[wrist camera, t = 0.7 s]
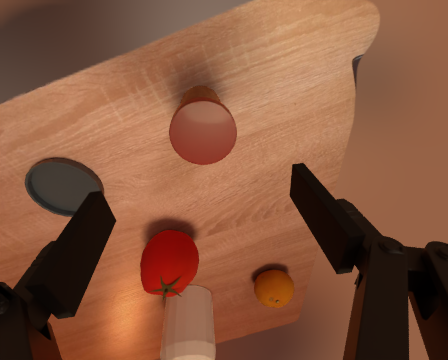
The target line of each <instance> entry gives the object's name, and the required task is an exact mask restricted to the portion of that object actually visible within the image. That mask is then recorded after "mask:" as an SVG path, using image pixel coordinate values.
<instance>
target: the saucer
mask: <svg viewBox="0 0 448 360" xmlns="http://www.w3.org/2000/svg"><path fill="white" fill-rule="evenodd" d="M25 186H26V190H27V192H28V194H29V195H30V197H31V198H32V199H33V201H35V202H36V203H37V204H38V205H40V206H41V207H42V208H44V209H46V210H48V211H50V212H52V213H55V214H58V215H62V216H69V217H73V215H74V214H75V212H76V211H77V210H78V208H79V207H80V205H81V204H82V202H83V201H84V200H85V198H86V197H87V195H88V194H89V192H94V191H102V193H103V195H104V188H103V185H102V183H101V181H100V179H99V178H98V176H97V175H96V174H95V173H94V172H93V171H91V170H90V169H89V168H87V167H86V166H84V165H82V164H80V163H78V162H75V161H72V160H68V159H62V158H52V159H47V160H44V161H41V162H40V163H38V164H36V165H35V166H33V167H32V168H31V169H30V170H29V172H28V173H27V174H26V178H25Z"/></svg>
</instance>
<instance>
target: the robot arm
mask: <svg viewBox="0 0 448 360" xmlns="http://www.w3.org/2000/svg"><path fill="white" fill-rule="evenodd" d="M290 197H291V199H292V201H293V202H294V204H295V206H296V207H297V209H298V211H299V212H300V214H301V216H302V217H303V219H304V221H305V222H306V224H307V226H308V227H309V229H310V231H311V232H312V234H313V235H314V237H315V239H316V240H317V242H318V244H319V245H320V247H321V249H322V250H323V252H324V254H325V255H326V257H327V259H328V260H329V262H330V263H331V265H332V267H333V269H334V270H335V272H336V274H343V273H350V272H352V270H353V267H354V265H355V266H356V267H357V269H358V270H359V274H358V277H357V279H356V281H355V284H356V289H355V295H354V301H353V306H352V311H351V317H350V323H349V329H348V334H347V340H346V345H345V351H344V356H343V360H409V329H408V328H409V325H408V296H409V299H410V302H411V305H412V308H413V311H414V314H415V317H416V320H417V323H418V326H419V330H420V333H421V336H422V339H423V342H424V345H425V348H426V351H427V354H428V357H429V360H448V244H446V243H443V242H437V241H433V242H429V243H428V244H427V245H426V247H425V248H415V247H406V246H403V245H402V244H401V243H400V242H398V241H397V240H395V239H393V238H390V237H386V236H383V235H381V233H379V231H378V230H377V229H376V228H375V227H374V226H373V225H372V224H371V223H370V222H369V221H368V220H367V219H366V218H365V217H363V215H362V214H361V213H360V212H359V211H358V209H356V207H355V206H354V205H353V204H352V203H350V202H348V201H347V200H345V199H337V200H335V198H334V197H333V196H332V195H331V194H330V193H329V192H328V190H327V189H326V188H325V187H324V186H323V185H322V184H321V183H320V181H319V180H318V179H317V178H316V177H315V176H314V175H313V173H312V172H311V171H310V170H309V169H308V168H307V167H306V165H305V164H304V163H300V164H293V165H292V176H291V187H290ZM115 222H116V219H115V217H114V215H113V213H112V211H111V209H110V207H109V205H108V203H107V201H106V199H105V197H104V195H103V193H102V191H94V192H89V194H88V195H87V197H86V198H85V200H84V201H83V202H82V204H81V205H80V207H79V208H78V210H77V211H76V212H75V214H74V215H73V217H72V218H71V220H70V221H69V223H68V224H67V225H66V227H65V228H64V230H63V231H62V233H61V234H60V236H59V237H58V238H57V240H56V241H51V242H50V243H49V244H48V245H47V246H45V247H44V248H43V249H42V250H41V252H40V253H39V254H38V256H37V257H36V260H34V261H33V262H32V264H31V267H29V268H28V269H27V271H26V272H25V273H24V275H23V276H22V277H21V279H20V280H19V282H18V283H17V284H16V286H15V287H14V288H13V290H12V289H11V288H10V287H9V286H8V285H7V284H6V283H4V282H0V360H62V358H61V355H60V352H59V348H58V345H57V342H56V339H55V336H54V333H53V330H52V327H51V324H50V323H49V322H48V319H49V317H50V315H51V313H52V314H53V315H54V316H55V317H56V318H57V319H62V318H68V317H74V316H75V314H76V312H77V309H78V307H79V305H80V303H81V300H82V298H83V296H84V293H85V291H86V289H87V286H88V284H89V282H90V280H91V277H92V275H93V273H94V270H95V268H96V266H97V264H98V261H99V259H100V257H101V254H102V252H103V250H104V248H105V245H106V243H107V241H108V238H109V236H110V234H111V232H112V229H113V227H114V225H115Z"/></svg>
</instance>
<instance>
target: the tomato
mask: <svg viewBox="0 0 448 360" xmlns="http://www.w3.org/2000/svg"><path fill="white" fill-rule="evenodd" d="M198 264H199V255H198V250H197V247H196V245H195V243H194V242H193V240H192V239H191V237H190V236H188V235H187V234H186V233H184V232H179V231H175V230H166V231H162V232H160V233H158V234H156V235H155V236H154V237H153V238H152V239H151V240H150V242H149V243H148V244H147V246H146V247H145V249H144V251H143V254H142V258H141V263H140V267H141V281H142V285H143V288H144V290H145V291H146V292H147V293H150V294H156V295H162V296H163V300H164V298H165V297H173V296H175V295H179V293H182V292H183V291H184V289H185V288H186V287H187V285H188V284H189V283H190V282H191V281H192V280H193V278H194V277H195V275H196V273H197V269H198ZM179 296H180V297H182V296H181V295H179Z"/></svg>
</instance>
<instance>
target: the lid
mask: <svg viewBox="0 0 448 360" xmlns="http://www.w3.org/2000/svg"><path fill="white" fill-rule="evenodd" d="M169 136H170V141H171V144H172V146H173V148H174V150H175V151H176V152H177V153H178V154H179V155H180V156H181V157H182V158H183V159H185V160H187V161H189V162H191V163H194V164H199V165H207V164H212V163H216V162H218V161H220V160H222V159H223V158H225V157H226V156H227V155H228V154H229V153H230V151H231V150H232V148H233V147H234V144H235V141H236V137H237V129H236V124H235V122H234V119H233V117H232V115H231V113H230V111H229V110H228V109H227V108H226V107H225V106H224V105H223V104H222V103H221V102H219V101H217V100H215V99H212V98H208V97H197V98H192V99H190V100H187V101H186V102H184V103H183V104H181V105H180V106H179V107H178V108H177V110H176V111H175V113H174V115H173V117H172V120H171V124H170V129H169Z"/></svg>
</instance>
